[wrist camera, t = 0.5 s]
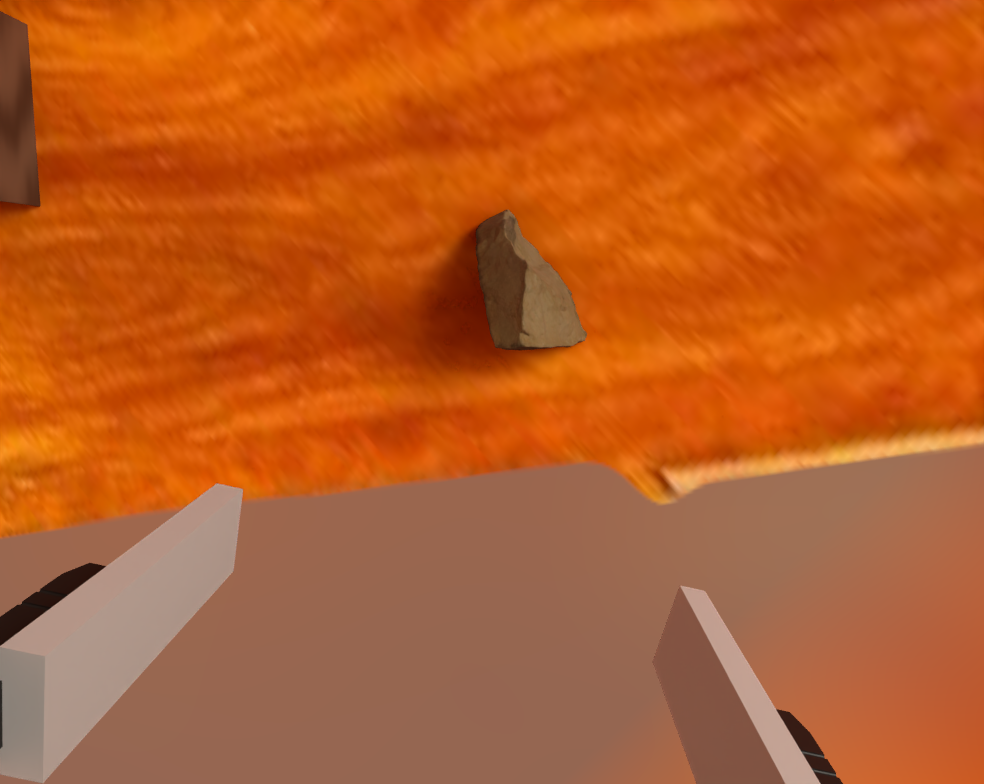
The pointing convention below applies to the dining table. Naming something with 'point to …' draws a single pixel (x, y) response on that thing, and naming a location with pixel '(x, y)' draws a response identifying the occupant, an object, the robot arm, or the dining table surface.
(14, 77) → the walnut block
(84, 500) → the dining table surface
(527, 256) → the rock
